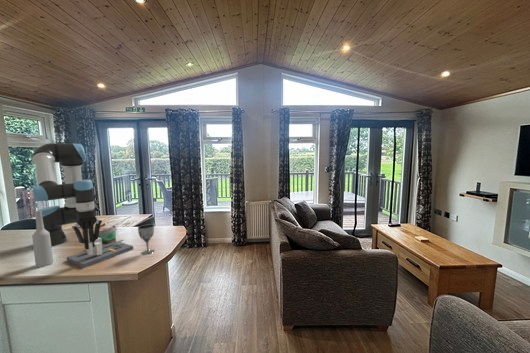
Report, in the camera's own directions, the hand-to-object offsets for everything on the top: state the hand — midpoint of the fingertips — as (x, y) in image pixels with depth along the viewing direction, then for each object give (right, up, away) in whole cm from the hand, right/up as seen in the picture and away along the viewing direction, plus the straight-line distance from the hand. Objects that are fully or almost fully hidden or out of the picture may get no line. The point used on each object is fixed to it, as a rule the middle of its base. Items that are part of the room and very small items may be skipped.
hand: (90, 254), depth 121 cm
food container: (-6, -2, +25) cm, 25 cm away
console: (0, -3, +8) cm, 9 cm away
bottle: (-22, -5, -1) cm, 23 cm away
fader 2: (+2, -1, +3) cm, 4 cm away
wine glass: (+25, -2, +10) cm, 27 cm away
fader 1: (-3, 0, +11) cm, 11 cm away
